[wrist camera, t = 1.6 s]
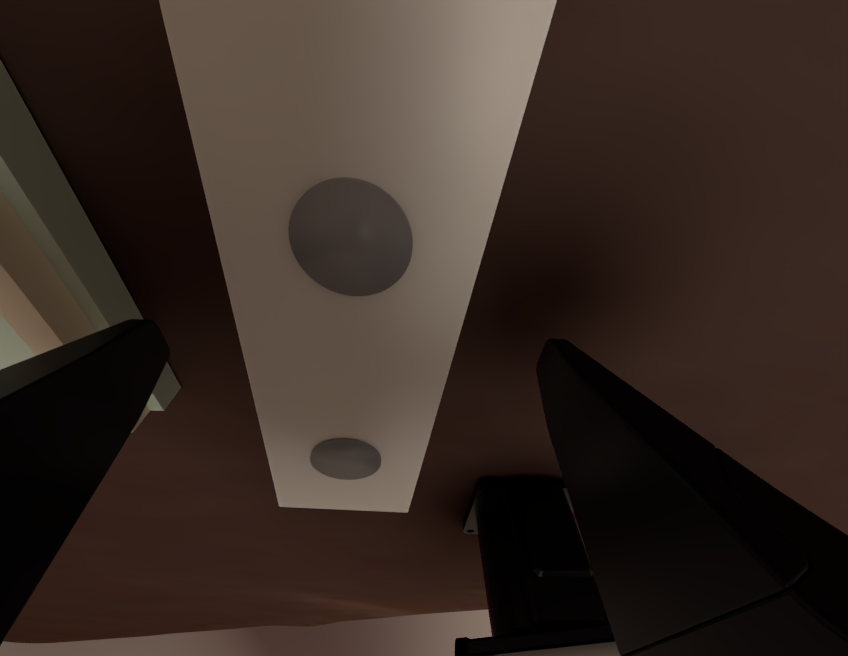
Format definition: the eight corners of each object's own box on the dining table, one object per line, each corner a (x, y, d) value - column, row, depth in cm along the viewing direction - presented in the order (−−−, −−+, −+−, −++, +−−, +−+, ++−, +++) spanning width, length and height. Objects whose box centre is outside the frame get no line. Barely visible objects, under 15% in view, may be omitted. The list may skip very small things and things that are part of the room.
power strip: (409, 393, 15) (407, 516, 10) (317, 385, 14) (278, 510, 10) (489, -7, 7) (596, -123, 3) (292, -54, 6) (86, -272, 2)
